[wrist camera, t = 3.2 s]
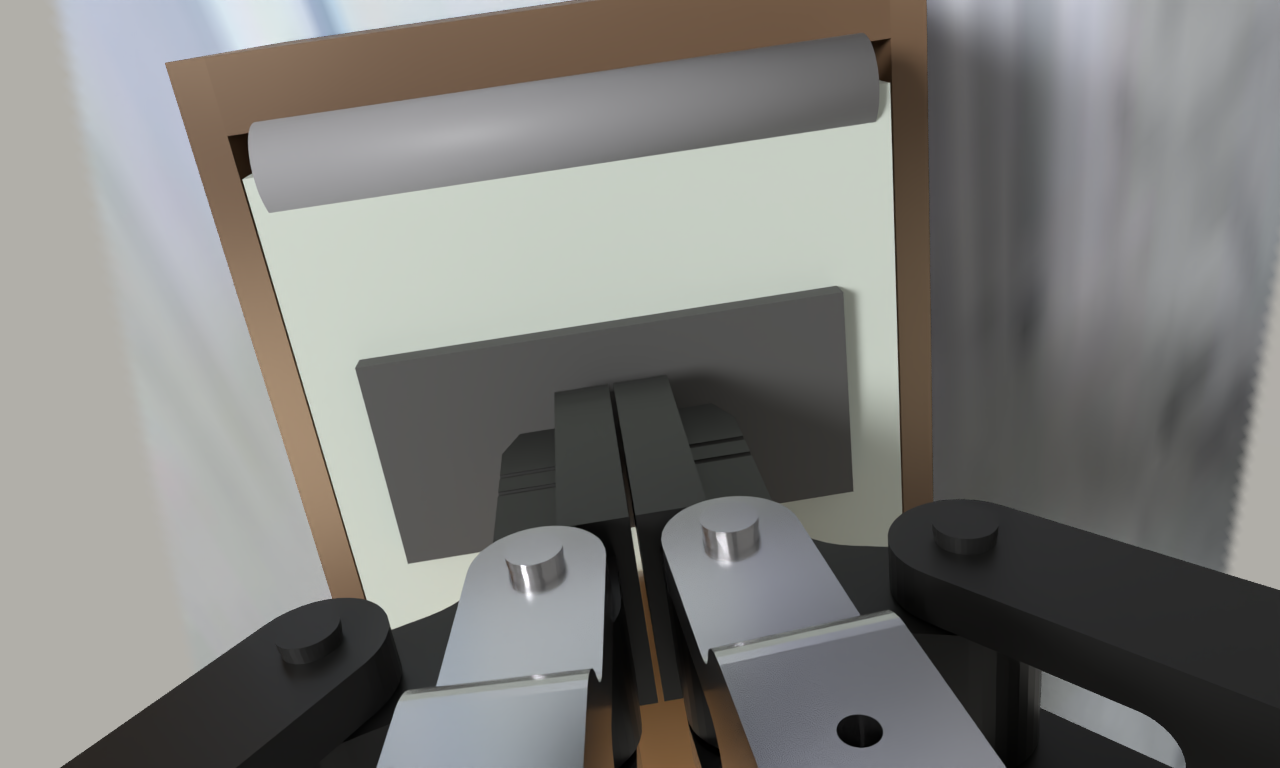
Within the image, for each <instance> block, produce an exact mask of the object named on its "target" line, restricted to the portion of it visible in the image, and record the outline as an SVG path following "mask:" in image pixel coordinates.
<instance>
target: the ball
mask: <svg viewBox="0 0 1280 768" xmlns="http://www.w3.org/2000/svg"><path fill="white" fill-rule="evenodd" d="M638 576H639V583H640V589H641V595H642V602H643V608H644V615H645V621H646V627H647V634H648V640H649V647H650V653H651V659H652V666H653V672H654V678H655V685H656V691H657V698H658V703H654V704H648V705H642V706H640V713H641V720H642V734H641V739H640V742H639V748H640V754H641V759H642V766H643V768H696V767H695V764H694V760H693V755H692V748H691V741H690V735H689V728H688V721H687V715H686V710H685V705H684V699H683V698H682V699H676V700H670V701H664V696H663V690H662V684H661V678H660V672H659V666H658V660H657V654H656V648H655V642H654V636H653V630H652V623H651V617H650V611H649V605H648V599H647V593H646V587H645V581H644V575H643V571H638Z"/></svg>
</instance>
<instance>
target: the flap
mask: <svg viewBox="0 0 1280 768" xmlns="http://www.w3.org/2000/svg"><path fill="white" fill-rule="evenodd" d="M248 151H249V159H250V165H251V170H252V174H251V175H249V176H247V177H246V178H244V179H242V180H243V183H244V187H245V190H246V193H247V197H248V200H249V204H250V207H251V210H252V214H253V217H254V220H255V224H256V227H257V231H258V234H259V237H260V241H261V244H262V248H263V251H264V254H265V258H266V261H267V264H268V268H269V271H270V275H271V278H272V281H273V285H274V288H275V291H276V295H277V298H278V302H279V305H280V308H281V312H282V315H283V318H284V322H285V325H286V329H287V332H288V335H289V339H290V342H291V346H292V349H293V352H294V356H295V359H296V362H297V366H298V369H299V373H300V376H301V379H302V383H303V386H304V389H305V393H306V396H307V400H308V403H309V406H310V410H311V413H312V416H313V420H314V423H315V427H316V430H317V433H318V437H319V440H320V444H321V447H322V450H323V454H324V457H325V460H326V464H327V467H328V471H329V474H330V477H331V481H332V484H333V487H334V491H335V494H336V498H337V501H338V504H339V508H340V511H341V515H342V518H343V521H344V525H345V528H346V531H347V535H348V538H349V542H350V545H351V548H352V552H353V555H354V558H355V562H356V565H357V569H358V572H359V575H360V579H361V582H362V585H363V589H364V592H365V596H366V599H367V600H368V601H371V602H373V603H375V604H377V605H379V606H380V607H381V608H382V609H383V610H384V611H385V613H386V614H387V616H388V620H389V623H390V627H391V630H392V629H395V628H398V627H400V626H403V625H406V624H408V623H411V622H414V621H416V620H419V619H422V618H425V617H427V616H430V615H432V614H435V613H437V612H439V611H442V610H443V609H445V608H447V607H449V606H451V605H453V604H455V603H456V602H458V601H459V600H460V596H461V592H462V589H463V585H464V581H465V578H466V574H467V571H468V568H469V566H470V564H471V563H472V561H473V560H474V558H475V557H476V556H477V555H478V554H479V553H480V552H481V551H483V550H484V549H485V548H487V547H488V546H489V545H491V544H493V537H494V528H495V518H496V508H497V498H498V496H499V494H498V489H499V479H500V469H501V459H502V454H503V453H504V451H505V450H506V449H507V448H508V447H509V446H510V445H511V443H512V442H513V441H514V440H515V439H516V438H517V437H518V435H519V434H523V433H529V432H535V431H541V430H548V429H554V428H555V413H554V392H559V391H565V390H572V389H578V388H584V387H591V386H597V385H603V384H608V386H609V393H610V399H611V405H612V411H613V418H614V424H615V430H616V437H617V443H618V449H619V456H620V462H621V468H622V475H623V481H624V487H625V493H626V500H627V506H628V512H629V519H630V525H631V531H632V538H633V544H634V551H635V557H636V563H637V570H638V571H643V569H642V563H641V557H640V551H639V545H638V539H637V533H636V527H635V521H634V514H633V508H632V502H631V495H630V489H629V483H628V476H627V470H626V463H625V457H624V451H623V444H622V438H621V432H620V425H619V419H618V412H617V406H616V400H615V393H614V386H613V383H615V382H621V381H628V380H634V379H640V378H647V377H653V376H659V375H667V377H668V380H669V383H670V386H671V390H672V393H673V396H674V399H675V402H676V405H677V409H679V408H685V407H691V406H697V405H704V404H710V403H712V404H714V405H716V406H717V407H719V408H721V409H722V410H724V411H726V412H727V413H729V414H731V415H732V416H734V417H735V419H736V421H737V423H738V425H739V428H740V430H741V432H742V434H743V438H744V439H745V441H746V443H747V445H748V448H749V450H750V454H751V455H752V457H753V459H754V461H755V463H756V465H757V468H758V470H759V472H760V474H761V477H762V479H763V481H764V483H765V486H766V488H767V490H768V492H769V494H770V497H771V499H772V501H774V502H777V503H779V504H781V505H783V506H785V507H787V508H788V509H789V510H791V511H792V512H793V513H794V514H795V515H796V516H797V518H798V519H799V521H800V522H801V524H802V525H803V527H804V528H805V530H806V532H807V533H808V535H809V536H810V538H812V539H815V540H819V541H823V542H826V543H832V544H839V545H851V546H881V547H888V531H889V528H890V526H891V525H892V523H893V521H894V520H895V519H896V518H898V517H899V516H900V515H901V514H902V487H901V452H900V417H899V381H898V346H897V310H896V275H895V240H894V204H893V169H892V133H891V98H890V83H889V82H885V81H881V80H879V74H878V66H877V61H876V56H875V52H874V49H873V46H872V44H871V41H870V40H869V38H868V37H867V35H866V34H864V33H857V34H850V35H843V36H837V37H830V38H823V39H816V40H809V41H803V42H796V43H789V44H782V45H775V46H769V47H762V48H755V49H748V50H741V51H735V52H728V53H721V54H714V55H707V56H701V57H694V58H687V59H680V60H674V61H667V62H660V63H653V64H646V65H640V66H633V67H626V68H619V69H612V70H606V71H599V72H592V73H585V74H578V75H572V76H565V77H558V78H551V79H544V80H538V81H531V82H524V83H517V84H510V85H504V86H497V87H490V88H483V89H476V90H470V91H463V92H456V93H449V94H442V95H436V96H429V97H422V98H415V99H408V100H402V101H395V102H388V103H381V104H375V105H368V106H361V107H354V108H347V109H341V110H334V111H327V112H320V113H313V114H307V115H300V116H293V117H286V118H279V119H273V120H266V121H259V122H254V123H252V125H251V126H250V129H249V134H248Z"/></svg>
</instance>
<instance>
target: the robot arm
mask: <svg viewBox="0 0 1280 768" xmlns="http://www.w3.org/2000/svg"><path fill="white" fill-rule="evenodd" d="M613 386H614V393H615V400H616V406H617V412H618V419H619V425H620V432H621V438H622V444H623V451H624V457H625V463H626V470H627V476H628V483H629V489H630V495H631V502H632V508H633V514H634V521H635V527H636V533H637V539H638V545H639V551H640V557H641V563H642V569H643V575H644V581H645V587H646V593H647V599H648V605H649V611H650V617H651V623H652V630H653V636H654V642H655V648H656V654H657V660H658V666H659V672H660V678H661V684H662V690H663V696H664V701H670V700H676V699H682V698H683V699H684V705H685V710H686V715H687V721H688V728H689V735H690V741H691V748H692V755H693V760H694V764H695V767H696V768H1172V767H1170V766H1168V765H1166V764H1163V763H1161V762H1159V761H1157V760H1155V759H1152V758H1150V757H1148V756H1146V755H1143V754H1141V753H1139V752H1137V751H1135V750H1132V749H1130V748H1128V747H1126V746H1124V745H1121V744H1119V743H1117V742H1115V741H1112V740H1110V739H1108V738H1106V737H1104V736H1101V735H1099V734H1097V733H1095V732H1092V731H1090V730H1088V729H1086V728H1084V727H1081V726H1079V725H1077V724H1075V723H1072V722H1070V721H1068V720H1066V719H1064V718H1061V717H1059V716H1057V715H1055V714H1053V713H1050V712H1048V711H1046V710H1044V709H1041V708H1040V697H1041V671H1044V672H1046V673H1049V674H1051V675H1053V676H1056V677H1058V678H1061V679H1063V680H1065V681H1068V682H1070V683H1072V684H1075V685H1077V686H1080V687H1082V688H1084V689H1087V690H1089V691H1091V692H1094V693H1096V694H1099V695H1101V696H1103V697H1106V698H1108V699H1110V700H1113V701H1115V702H1117V703H1120V704H1122V705H1125V706H1127V707H1129V708H1132V709H1134V710H1136V711H1139V712H1141V713H1143V714H1145V715H1147V716H1149V717H1150V718H1152V719H1153V720H1155V721H1156V722H1157V723H1159V724H1160V725H1161V726H1163V727H1164V728H1165V729H1166V730H1167V731H1168V732H1169V733H1170V734H1171V735H1172V737H1173V738H1174V739H1175V740H1176V742H1177V743H1178V745H1179V747H1180V748H1181V750H1182V753H1183V755H1184V758H1185V762H1186V768H1280V590H1277V589H1274V588H1271V587H1267V586H1264V585H1261V584H1258V583H1254V582H1251V581H1248V580H1244V579H1241V578H1238V577H1235V576H1231V575H1228V574H1225V573H1222V572H1218V571H1215V570H1212V569H1208V568H1205V567H1202V566H1199V565H1195V564H1192V563H1189V562H1185V561H1182V560H1179V559H1176V558H1172V557H1169V556H1166V555H1162V554H1159V553H1156V552H1153V551H1149V550H1146V549H1143V548H1139V547H1136V546H1133V545H1130V544H1126V543H1123V542H1120V541H1117V540H1113V539H1110V538H1107V537H1103V536H1100V535H1097V534H1094V533H1090V532H1087V531H1084V530H1080V529H1077V528H1074V527H1071V526H1067V525H1064V524H1061V523H1057V522H1054V521H1051V520H1048V519H1044V518H1041V517H1038V516H1034V515H1031V514H1028V513H1025V512H1021V511H1018V510H1015V509H1012V508H1008V507H1005V506H1002V505H998V504H994V503H990V502H984V501H977V500H942V501H936V502H930V503H926V504H923V505H919V506H916V507H914V508H912V509H910V510H907V511H906V512H904V513H903V514H901V515H900V516H899V517H898V518H896V519H895V520H894V521H893V523H892V525H891V526H890V528H889V531H888V547H881V546H851V545H839V544H832V543H826V542H823V541H819V540H815V539H812V538H810V536H809V535H808V533H807V532H806V530H805V528H804V527H803V525H802V524H801V522H800V521H799V519H798V518H797V516H796V515H795V514H794V513H793V512H792V511H791V510H789V509H788V508H787V507H785V506H783V505H781V504H779V503H777V502H774V501H772V499H771V497H770V494H769V492H768V490H767V488H766V486H765V483H764V481H763V479H762V477H761V474H760V472H759V470H758V468H757V465H756V463H755V461H754V459H753V457H752V455H751V454H750V450H749V448H748V445H747V443H746V441H745V439H744V438H743V434H742V432H741V430H740V428H739V425H738V423H737V421H736V419H735V417H734V416H732V415H731V414H729V413H727V412H726V411H724V410H722V409H721V408H719V407H717V406H716V405H714V404H712V403H710V404H704V405H697V406H691V407H685V408H679V409H677V405H676V402H675V399H674V396H673V393H672V390H671V386H670V383H669V380H668V377H667V375H659V376H653V377H647V378H640V379H634V380H628V381H621V382H615V383H613ZM554 413H555V428H554V429H548V430H541V431H535V432H529V433H523V434H519V435H518V437H517V438H516V439H515V440H514V441H513V442H512V443H511V445H510V446H509V447H508V448H507V449H506V450H505V451H504V453H503V454H502V459H501V469H500V479H499V489H498V494H499V496H498V498H497V508H496V518H495V528H494V537H493V544H491V545H489V546H488V547H487V548H485V549H484V550H483V551H481V552H480V553H479V554H478V555H477V556H476V557H475V558H474V560H473V561H472V563H471V564H470V566H469V568H468V571H467V574H466V578H465V581H464V585H463V589H462V592H461V596H460V600H459V601H458V602H456V603H455V604H453V605H451V606H449V607H447V608H445V609H443V610H442V611H439V612H437V613H435V614H432V615H430V616H427V617H425V618H422V619H419V620H416V621H414V622H411V623H408V624H406V625H403V626H400V627H398V628H395V629H392V630H391V627H390V623H389V620H388V616H387V614H386V613H385V611H384V610H383V609H382V608H381V607H380V606H379V605H377V604H375V603H373V602H371V601H368V600H364V599H359V598H334V599H327V600H322V601H318V602H314V603H310V604H307V605H304V606H301V607H299V608H296V609H294V610H291V611H289V612H287V613H285V614H283V615H281V616H279V617H277V618H275V619H274V620H272V621H271V622H269V623H267V624H266V625H264V626H263V627H261V628H260V629H259V630H257V631H256V632H254V633H253V634H251V635H250V636H249V637H247V638H246V639H244V640H243V641H241V642H240V643H239V644H237V645H236V646H234V647H233V648H231V649H230V650H228V651H227V652H226V653H224V654H223V655H221V656H220V657H218V658H217V659H216V660H214V661H213V662H211V663H210V664H208V665H207V666H206V667H204V668H203V669H201V670H200V671H198V672H197V673H195V674H194V675H193V676H191V677H190V678H188V679H187V680H186V681H184V682H183V683H181V684H180V685H178V686H177V687H175V688H174V689H173V690H171V691H170V692H169V693H167V694H165V695H164V696H162V697H161V698H160V699H158V700H157V701H155V702H154V703H152V704H151V705H150V706H148V707H147V708H145V709H144V710H142V711H141V712H140V713H138V714H137V715H135V716H134V717H132V718H131V719H129V720H128V721H127V722H125V723H124V724H122V725H121V726H119V727H118V728H117V729H115V730H114V731H112V732H111V733H109V734H108V735H107V736H105V737H104V738H102V739H101V740H100V741H98V742H97V743H95V744H94V745H92V746H91V747H89V748H88V749H86V750H85V751H84V752H82V753H81V754H79V755H78V756H76V757H75V758H74V759H72V760H71V761H69V762H68V763H66V764H65V765H63V766H62V767H61V768H643V766H642V759H641V754H640V748H639V742H640V739H641V734H642V720H641V713H640V706H642V705H648V704H654V703H658V698H657V691H656V685H655V678H654V672H653V666H652V659H651V653H650V647H649V640H648V634H647V627H646V621H645V615H644V608H643V602H642V595H641V589H640V583H639V576H638V570H637V563H636V557H635V551H634V544H633V538H632V531H631V525H630V519H629V512H628V506H627V500H626V493H625V487H624V481H623V475H622V468H621V462H620V456H619V449H618V443H617V437H616V430H615V424H614V418H613V411H612V405H611V399H610V393H609V386H608V384H603V385H597V386H591V387H584V388H578V389H572V390H565V391H559V392H554Z"/></svg>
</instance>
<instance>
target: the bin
mask: <svg viewBox="0 0 1280 768" xmlns="http://www.w3.org/2000/svg"><path fill="white" fill-rule="evenodd" d="M857 33H864V34H866V35H867V37H868V38H869V40H870V41H871V44H872V46H873V49H874V52H875V56H876V61H877V66H878V74H879V80H881V81H885V82H889V83H890V98H891V133H892V169H893V204H894V240H895V275H896V310H897V346H898V381H899V417H900V452H901V487H902V514H903V513H904V512H906V511H907V510H910V509H912V508H914V507H916V506H919V505H923V504H926V503H930V502H933V450H932V376H931V301H930V226H929V152H928V77H927V3H926V0H573V1H566V2H559V3H552V4H545V5H538V6H531V7H524V8H517V9H510V10H504V11H497V12H490V13H483V14H476V15H469V16H462V17H455V18H448V19H441V20H434V21H427V22H421V23H414V24H407V25H400V26H393V27H386V28H379V29H372V30H365V31H358V32H351V33H345V34H338V35H331V36H324V37H317V38H310V39H303V40H296V41H289V42H283V43H277V44H271V45H265V46H260V47H254V48H248V49H242V50H237V51H231V52H225V53H219V54H213V55H208V56H202V57H196V58H190V59H184V60H179V61H173V62H167V63H165V65H166V68H167V71H168V74H169V78H170V81H171V84H172V87H173V90H174V94H175V97H176V100H177V103H178V106H179V110H180V113H181V116H182V119H183V122H184V126H185V129H186V132H187V135H188V138H189V142H190V145H191V148H192V151H193V154H194V158H195V161H196V164H197V167H198V170H199V174H200V177H201V180H202V183H203V186H204V190H205V193H206V196H207V199H208V202H209V206H210V209H211V212H212V215H213V218H214V222H215V225H216V228H217V231H218V234H219V238H220V241H221V244H222V247H223V250H224V254H225V257H226V260H227V263H228V266H229V270H230V273H231V276H232V279H233V282H234V285H235V289H236V292H237V295H238V298H239V301H240V305H241V308H242V311H243V314H244V317H245V321H246V324H247V327H248V330H249V333H250V337H251V340H252V343H253V346H254V349H255V353H256V356H257V359H258V362H259V365H260V369H261V372H262V375H263V378H264V381H265V385H266V388H267V391H268V394H269V397H270V401H271V404H272V407H273V410H274V413H275V417H276V420H277V423H278V426H279V429H280V433H281V436H282V439H283V442H284V445H285V449H286V452H287V455H288V458H289V461H290V465H291V468H292V471H293V474H294V477H295V481H296V484H297V487H298V490H299V493H300V497H301V500H302V503H303V506H304V509H305V513H306V516H307V519H308V522H309V525H310V528H311V532H312V535H313V538H314V541H315V544H316V548H317V551H318V554H319V557H320V560H321V564H322V567H323V570H324V573H325V576H326V580H327V583H328V586H329V589H330V592H331V596H332V599H334V598H359V599H364V600H367V599H366V596H365V592H364V589H363V585H362V582H361V579H360V575H359V572H358V569H357V565H356V562H355V558H354V555H353V552H352V548H351V545H350V542H349V538H348V535H347V531H346V528H345V525H344V521H343V518H342V515H341V511H340V508H339V504H338V501H337V498H336V494H335V491H334V487H333V484H332V481H331V477H330V474H329V471H328V467H327V464H326V460H325V457H324V454H323V450H322V447H321V444H320V440H319V437H318V433H317V430H316V427H315V423H314V420H313V416H312V413H311V410H310V406H309V403H308V400H307V396H306V393H305V389H304V386H303V383H302V379H301V376H300V373H299V369H298V366H297V362H296V359H295V356H294V352H293V349H292V346H291V342H290V339H289V335H288V332H287V329H286V325H285V322H284V318H283V315H282V312H281V308H280V305H279V302H278V298H277V295H276V291H275V288H274V285H273V281H272V278H271V275H270V271H269V268H268V264H267V261H266V258H265V254H264V251H263V248H262V244H261V241H260V237H259V234H258V231H257V227H256V224H255V220H254V217H253V214H252V210H251V207H250V204H249V200H248V197H247V193H246V190H245V187H244V183H243V180H242V179H244V178H246V177H247V176H249V175H251V174H252V170H251V165H250V159H249V151H248V134H249V129H250V126H251V125H252V123H254V122H259V121H266V120H273V119H279V118H286V117H293V116H300V115H307V114H313V113H320V112H327V111H334V110H341V109H347V108H354V107H361V106H368V105H375V104H381V103H388V102H395V101H402V100H408V99H415V98H422V97H429V96H436V95H442V94H449V93H456V92H463V91H470V90H476V89H483V88H490V87H497V86H504V85H510V84H517V83H524V82H531V81H538V80H544V79H551V78H558V77H565V76H572V75H578V74H585V73H592V72H599V71H606V70H612V69H619V68H626V67H633V66H640V65H646V64H653V63H660V62H667V61H674V60H680V59H687V58H694V57H701V56H707V55H714V54H721V53H728V52H735V51H741V50H748V49H755V48H762V47H769V46H775V45H782V44H789V43H796V42H803V41H809V40H816V39H823V38H830V37H837V36H843V35H850V34H857Z"/></svg>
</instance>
